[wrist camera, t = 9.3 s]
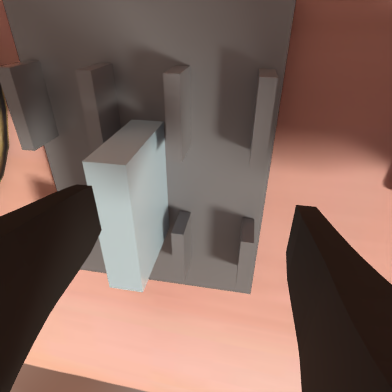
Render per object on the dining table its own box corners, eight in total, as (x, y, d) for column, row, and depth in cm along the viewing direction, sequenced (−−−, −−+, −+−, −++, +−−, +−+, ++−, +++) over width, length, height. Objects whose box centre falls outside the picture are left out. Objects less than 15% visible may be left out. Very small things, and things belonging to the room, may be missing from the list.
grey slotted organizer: (294, -2, 14) (303, -6, 11) (250, 284, 25) (249, 320, 22) (14, -2, 16) (-39, -5, 13) (85, 261, 27) (64, 291, 24)
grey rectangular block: (163, 121, 17) (125, 165, 12) (169, 227, 22) (142, 292, 17) (131, 119, 18) (82, 161, 13) (143, 224, 22) (109, 287, 17)
